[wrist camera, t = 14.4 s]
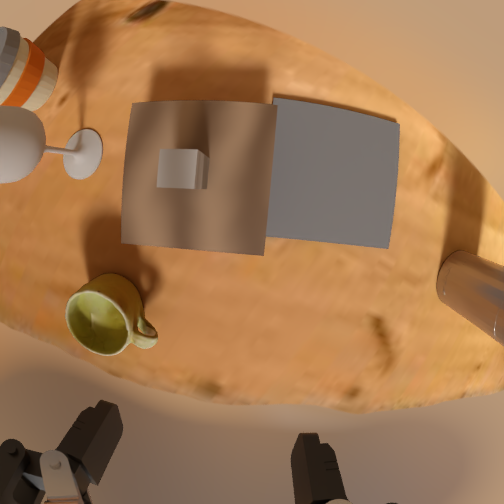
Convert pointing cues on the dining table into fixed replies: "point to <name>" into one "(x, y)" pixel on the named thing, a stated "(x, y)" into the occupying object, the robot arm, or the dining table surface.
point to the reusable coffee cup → (24, 72)
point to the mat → (332, 175)
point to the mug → (109, 316)
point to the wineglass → (42, 146)
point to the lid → (198, 175)
